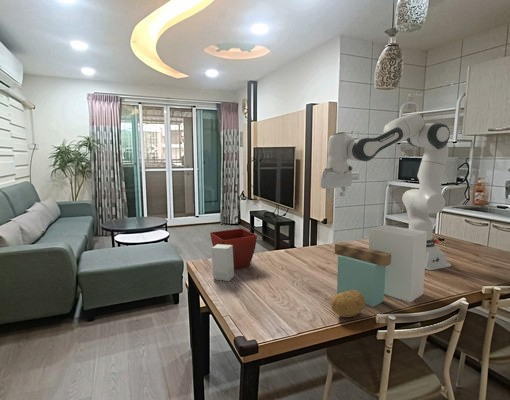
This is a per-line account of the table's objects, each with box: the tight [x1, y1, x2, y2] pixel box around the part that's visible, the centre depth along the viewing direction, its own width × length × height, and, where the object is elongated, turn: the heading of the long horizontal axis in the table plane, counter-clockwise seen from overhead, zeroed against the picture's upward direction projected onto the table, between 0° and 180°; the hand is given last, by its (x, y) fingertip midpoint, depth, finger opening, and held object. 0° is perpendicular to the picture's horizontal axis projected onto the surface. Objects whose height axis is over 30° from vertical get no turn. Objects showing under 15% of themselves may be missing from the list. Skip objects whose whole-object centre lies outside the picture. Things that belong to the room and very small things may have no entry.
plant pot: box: [210, 228, 258, 270], centre depth 166 cm, size 19×19×17 cm
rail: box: [334, 242, 391, 267], centre depth 125 cm, size 22×4×4 cm, turn 41°
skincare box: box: [211, 244, 235, 282], centre depth 147 cm, size 8×7×16 cm
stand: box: [368, 224, 427, 303], centre depth 131 cm, size 12×18×26 cm, turn 41°
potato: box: [330, 290, 366, 318], centre depth 112 cm, size 10×14×8 cm
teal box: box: [336, 254, 385, 308], centre depth 126 cm, size 8×16×16 cm, turn 41°
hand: (336, 197), depth 150 cm, fingers open, 8 cm apart
